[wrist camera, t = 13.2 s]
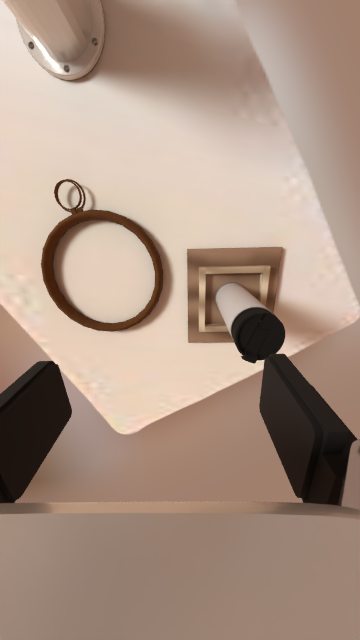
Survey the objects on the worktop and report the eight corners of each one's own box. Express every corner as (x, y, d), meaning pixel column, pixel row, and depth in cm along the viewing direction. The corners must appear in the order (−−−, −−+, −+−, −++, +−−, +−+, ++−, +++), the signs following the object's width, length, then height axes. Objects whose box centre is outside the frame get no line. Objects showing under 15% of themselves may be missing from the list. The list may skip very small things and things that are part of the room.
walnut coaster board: (187, 249, 42) (187, 249, 40) (280, 247, 42) (285, 247, 39) (188, 340, 49) (188, 345, 47) (267, 340, 49) (271, 345, 46)
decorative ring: (119, 148, 35) (179, 314, 45) (124, 154, 38) (179, 309, 47) (-5, 202, 38) (75, 346, 48) (7, 205, 41) (81, 340, 51)
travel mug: (209, 306, 45) (225, 354, 27) (223, 277, 43) (250, 307, 24) (236, 317, 46) (270, 370, 27) (251, 288, 44) (299, 326, 25)
